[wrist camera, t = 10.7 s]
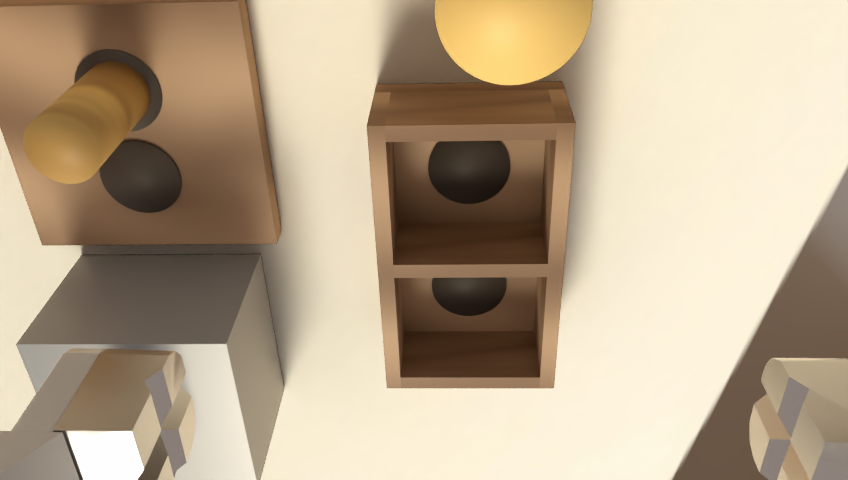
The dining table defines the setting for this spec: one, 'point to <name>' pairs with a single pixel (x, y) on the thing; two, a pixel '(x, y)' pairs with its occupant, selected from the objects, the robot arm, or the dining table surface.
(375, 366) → the dining table surface
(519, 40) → the peg
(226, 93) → the board
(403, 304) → the open brown box
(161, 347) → the housing
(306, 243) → the dining table surface
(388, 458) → the dining table surface
